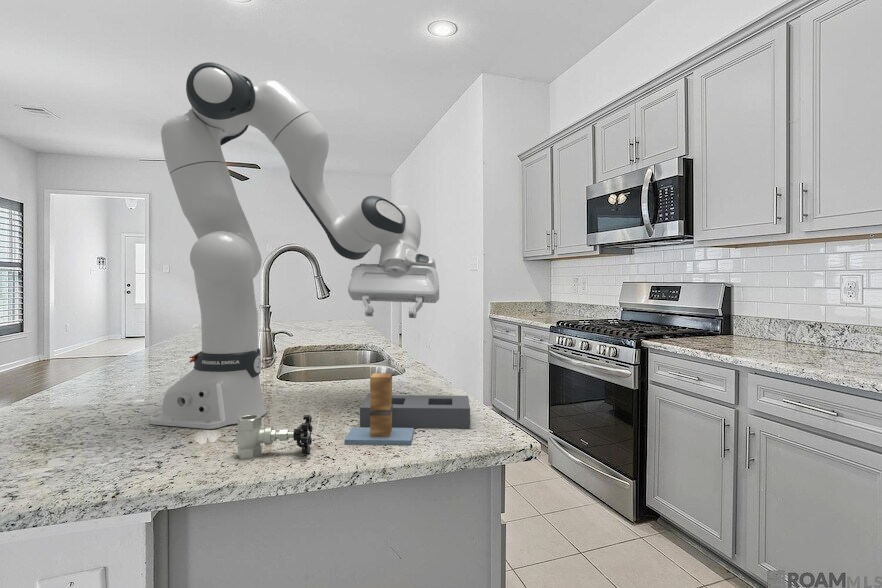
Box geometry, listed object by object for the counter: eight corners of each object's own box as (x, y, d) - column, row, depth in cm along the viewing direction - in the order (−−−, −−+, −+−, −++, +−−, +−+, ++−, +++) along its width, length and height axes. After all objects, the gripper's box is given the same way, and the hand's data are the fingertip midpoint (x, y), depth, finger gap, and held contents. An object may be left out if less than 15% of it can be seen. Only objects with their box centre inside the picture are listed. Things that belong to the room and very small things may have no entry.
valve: (230, 463, 77) (307, 460, 78) (230, 423, 77) (306, 421, 78) (242, 449, 83) (312, 446, 85) (241, 411, 83) (312, 409, 85)
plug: (369, 437, 87) (369, 377, 87) (372, 430, 91) (372, 373, 90) (390, 437, 87) (390, 377, 87) (392, 430, 91) (392, 373, 90)
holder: (359, 427, 95) (359, 407, 95) (368, 412, 105) (368, 394, 105) (470, 428, 95) (470, 408, 95) (467, 413, 105) (468, 395, 105)
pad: (344, 444, 86) (344, 439, 86) (352, 431, 93) (352, 427, 93) (411, 444, 85) (411, 440, 85) (413, 432, 92) (413, 427, 92)
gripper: (351, 255, 108) (339, 306, 100) (441, 257, 107) (436, 309, 99) (356, 272, 113) (345, 321, 105) (441, 274, 112) (437, 325, 104)
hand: (390, 315), depth 102 cm, fingers open, 8 cm apart
